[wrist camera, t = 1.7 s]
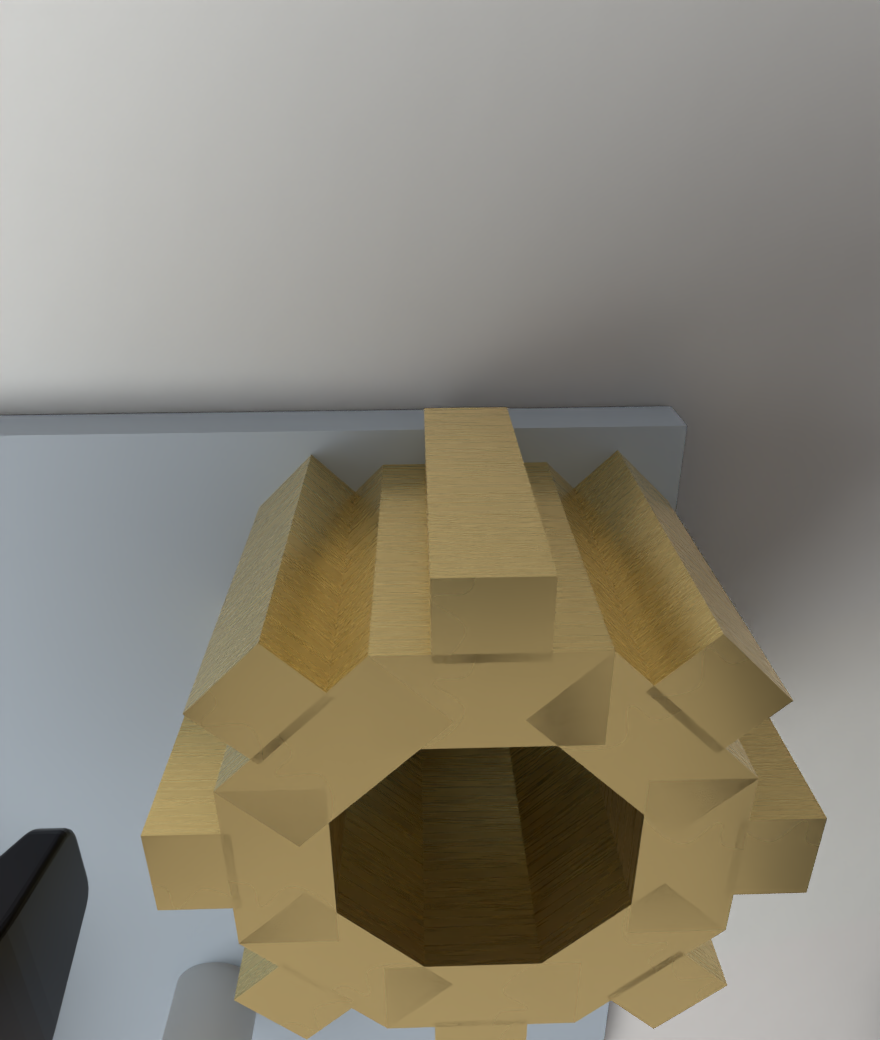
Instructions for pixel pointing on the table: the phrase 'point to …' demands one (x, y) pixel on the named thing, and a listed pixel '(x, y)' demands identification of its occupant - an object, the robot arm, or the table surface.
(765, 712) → the brass gear
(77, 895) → the robot arm
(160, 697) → the gear board
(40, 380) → the table surface
